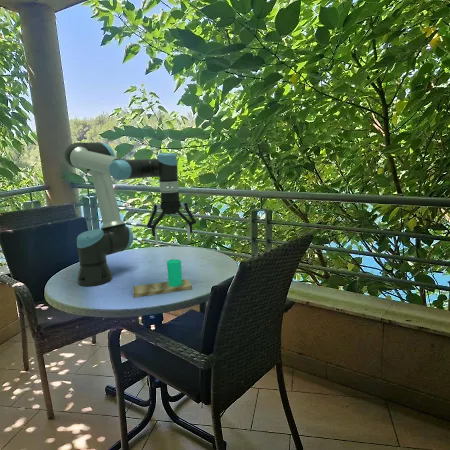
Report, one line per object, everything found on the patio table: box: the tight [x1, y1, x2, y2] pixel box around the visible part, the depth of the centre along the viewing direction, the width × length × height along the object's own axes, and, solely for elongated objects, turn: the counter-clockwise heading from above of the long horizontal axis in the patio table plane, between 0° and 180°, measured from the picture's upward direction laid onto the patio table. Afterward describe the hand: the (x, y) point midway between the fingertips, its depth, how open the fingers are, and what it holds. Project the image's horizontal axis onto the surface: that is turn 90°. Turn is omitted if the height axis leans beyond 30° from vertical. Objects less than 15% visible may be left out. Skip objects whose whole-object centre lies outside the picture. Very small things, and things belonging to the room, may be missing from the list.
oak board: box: [132, 278, 193, 298], centre depth 144 cm, size 24×9×2 cm, turn 106°
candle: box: [166, 258, 183, 287], centre depth 144 cm, size 6×6×12 cm
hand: (173, 242), depth 142 cm, fingers open, 13 cm apart
